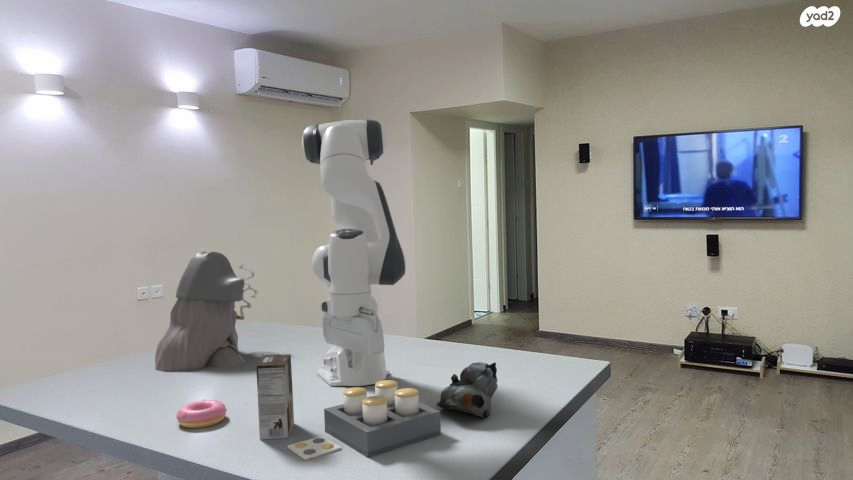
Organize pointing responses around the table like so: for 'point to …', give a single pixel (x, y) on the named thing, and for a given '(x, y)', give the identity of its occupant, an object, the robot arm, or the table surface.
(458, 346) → the table surface
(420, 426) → the board
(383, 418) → the button
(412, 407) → the button
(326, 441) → the card
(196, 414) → the doughnut
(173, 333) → the bust
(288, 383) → the coffee box
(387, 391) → the button
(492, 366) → the lucky cat figurine
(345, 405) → the button
